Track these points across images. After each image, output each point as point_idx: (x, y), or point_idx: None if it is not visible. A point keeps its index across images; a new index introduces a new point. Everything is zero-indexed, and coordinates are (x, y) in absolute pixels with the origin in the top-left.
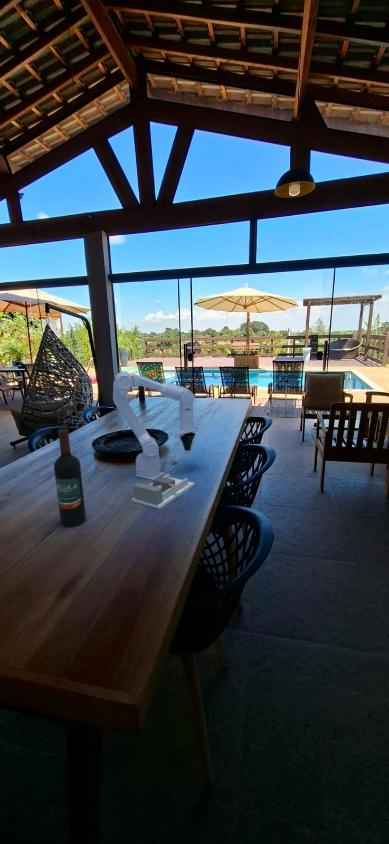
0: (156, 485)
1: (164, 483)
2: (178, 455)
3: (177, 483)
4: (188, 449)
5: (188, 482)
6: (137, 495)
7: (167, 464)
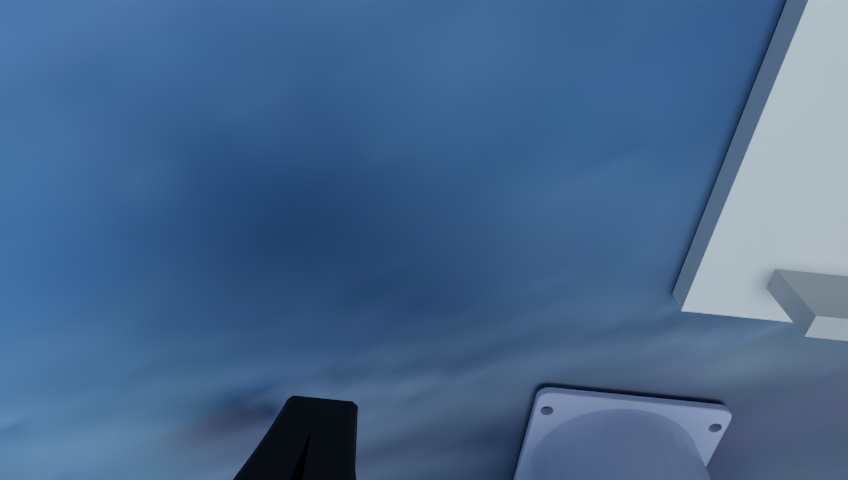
0: None
1: None
2: (48, 460)
3: None
4: (354, 430)
5: (831, 22)
6: None
7: None
